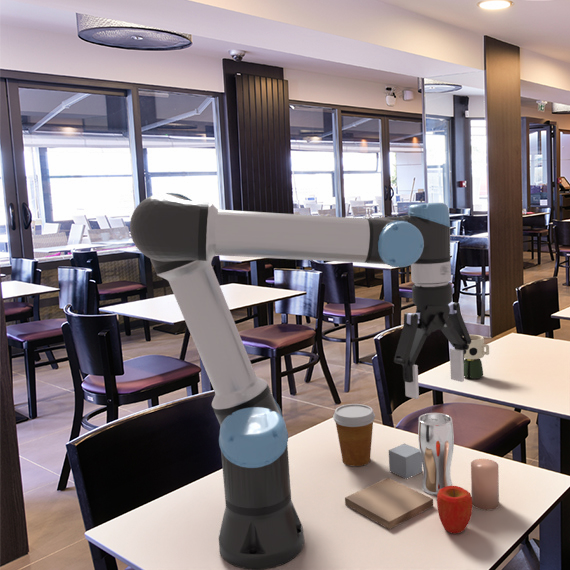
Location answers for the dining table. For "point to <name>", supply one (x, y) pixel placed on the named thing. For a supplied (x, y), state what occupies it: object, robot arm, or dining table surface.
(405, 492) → the walnut board
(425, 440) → the steel tumbler
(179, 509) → the dining table surface
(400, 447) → the slate block
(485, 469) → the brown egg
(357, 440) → the disposable coffee cup
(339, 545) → the dining table surface
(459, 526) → the apple
